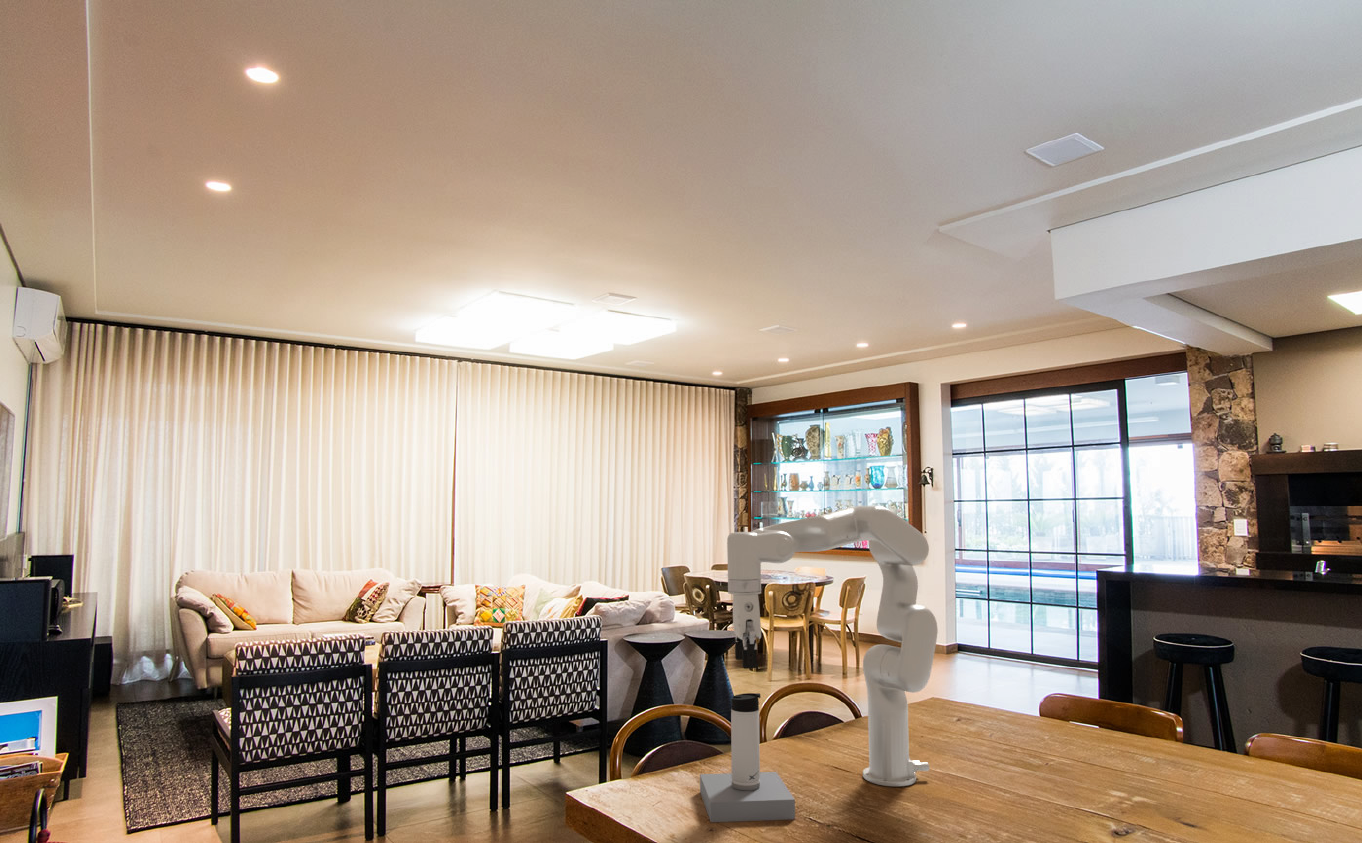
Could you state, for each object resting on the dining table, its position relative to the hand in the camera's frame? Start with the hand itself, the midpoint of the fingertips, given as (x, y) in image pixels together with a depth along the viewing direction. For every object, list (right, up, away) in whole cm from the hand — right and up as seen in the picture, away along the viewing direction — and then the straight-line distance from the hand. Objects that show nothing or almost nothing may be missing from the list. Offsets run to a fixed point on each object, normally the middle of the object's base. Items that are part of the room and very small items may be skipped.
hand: (746, 663), depth 183 cm
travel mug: (0, -27, -3) cm, 27 cm away
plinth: (0, -30, -3) cm, 31 cm away
